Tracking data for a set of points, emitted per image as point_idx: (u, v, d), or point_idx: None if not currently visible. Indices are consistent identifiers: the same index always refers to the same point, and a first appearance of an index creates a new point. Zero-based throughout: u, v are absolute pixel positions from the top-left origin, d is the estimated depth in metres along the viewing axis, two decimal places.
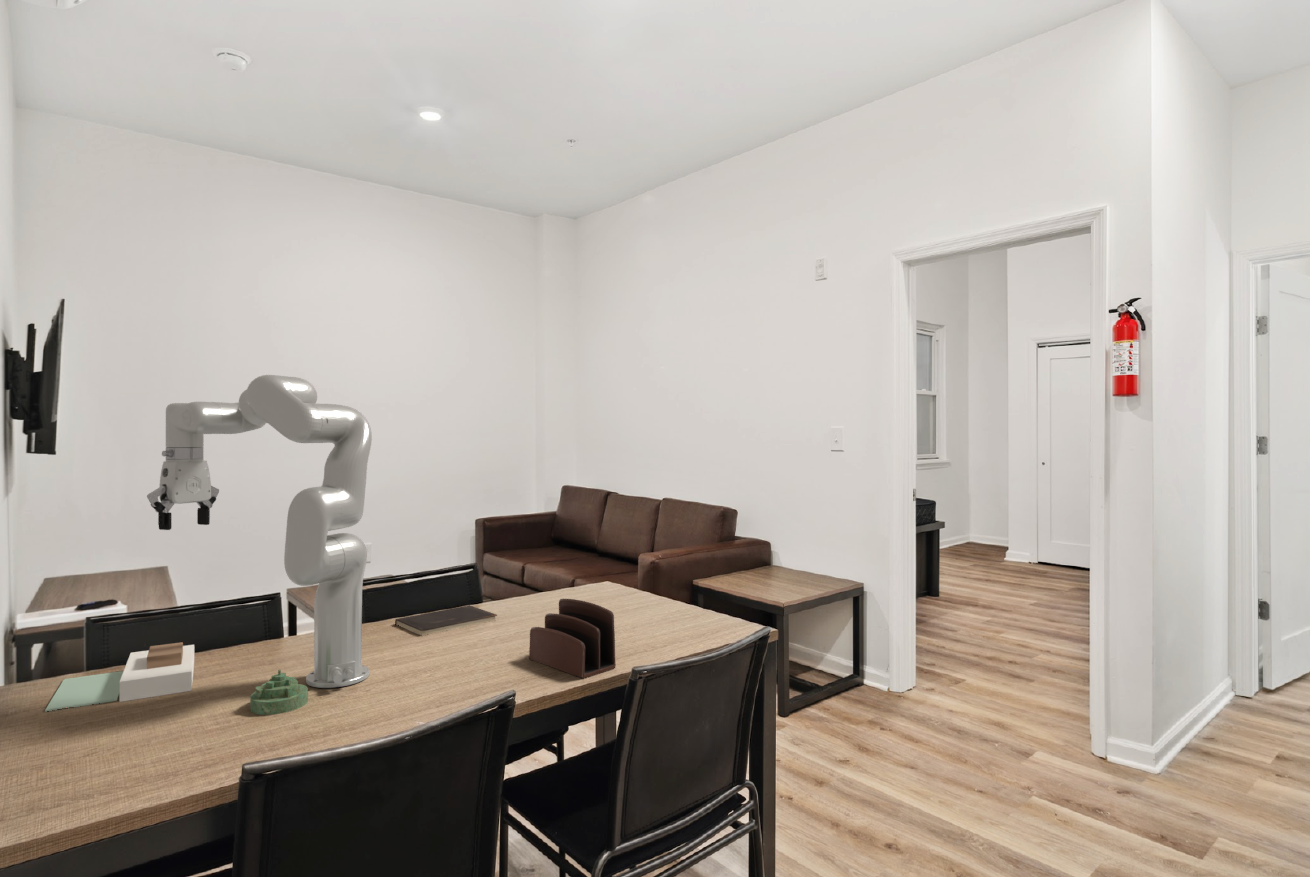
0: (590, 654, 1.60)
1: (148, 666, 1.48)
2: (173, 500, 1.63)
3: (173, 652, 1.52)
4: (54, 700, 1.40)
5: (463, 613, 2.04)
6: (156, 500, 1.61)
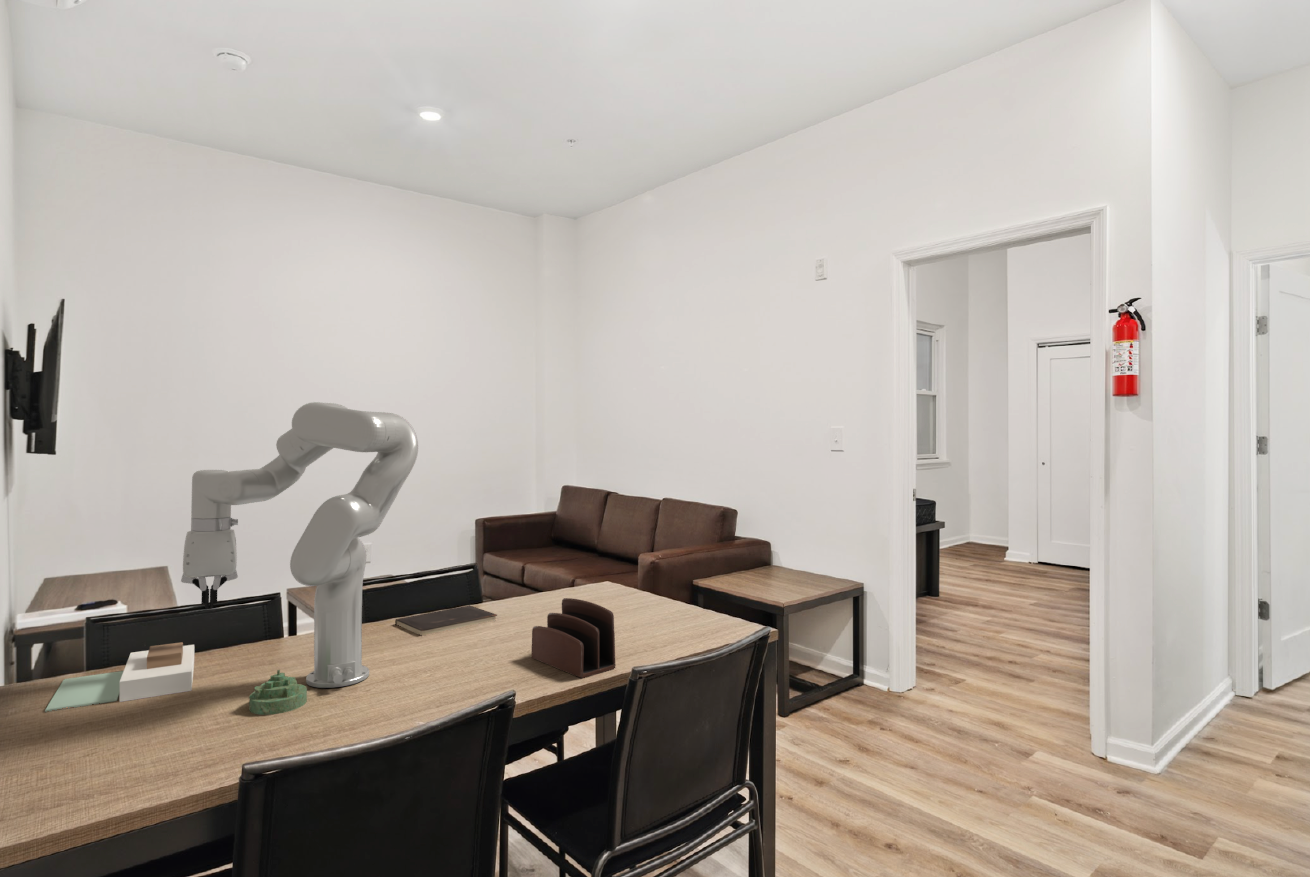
0: (590, 654, 1.60)
1: (148, 666, 1.48)
2: None
3: (173, 652, 1.52)
4: (54, 700, 1.40)
5: (463, 613, 2.04)
6: None
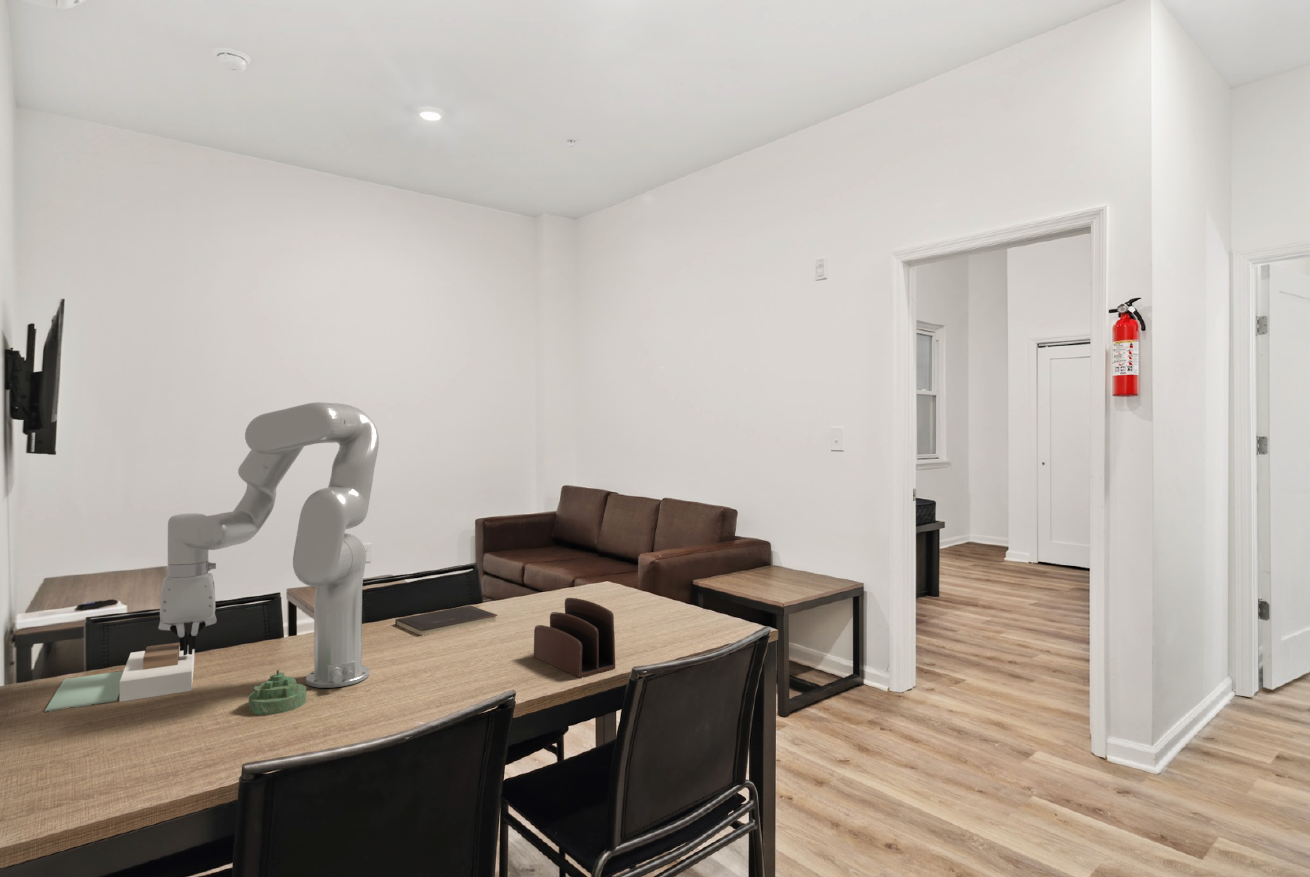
0: (589, 654, 1.61)
1: (144, 666, 1.48)
2: None
3: (169, 652, 1.51)
4: (54, 700, 1.40)
5: (463, 613, 2.04)
6: None
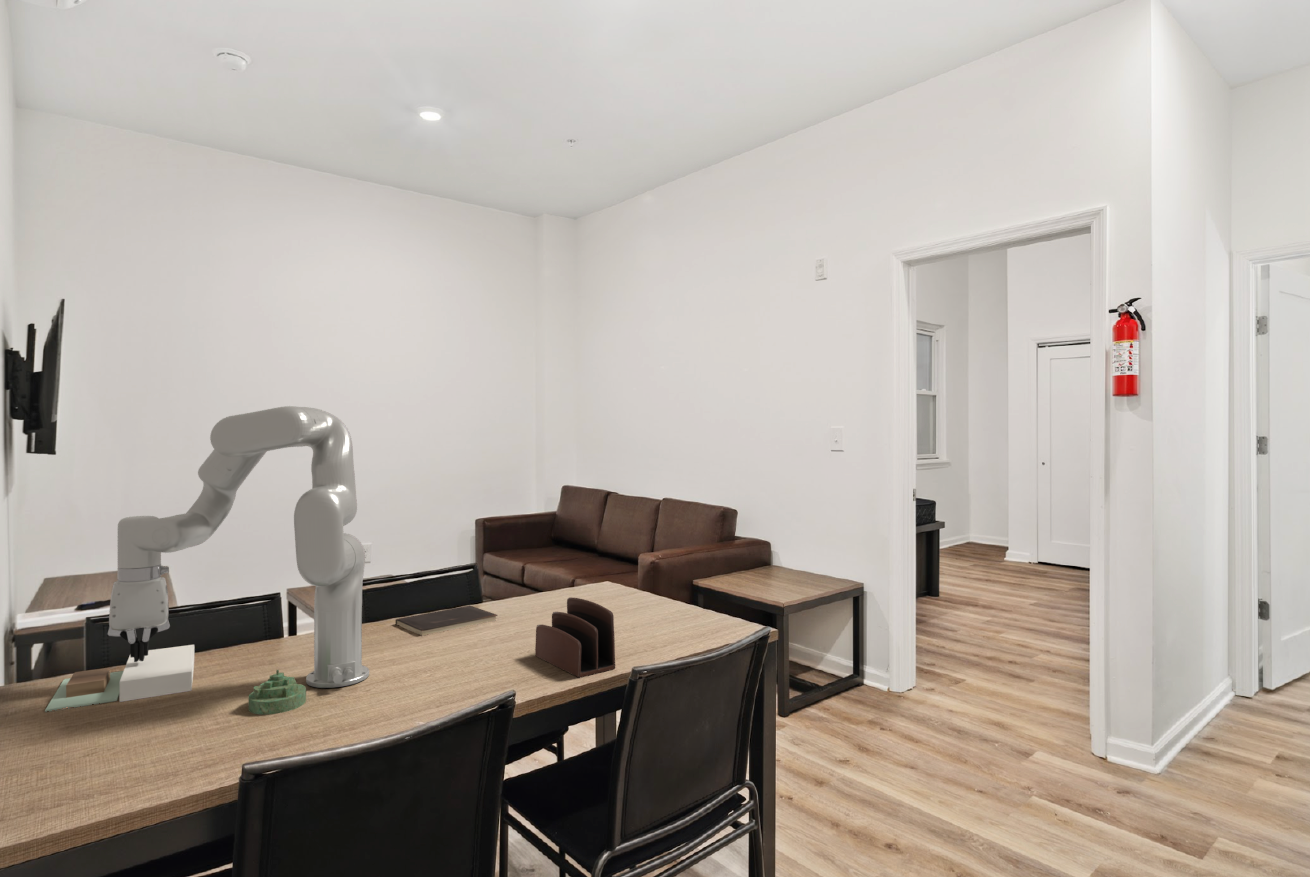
0: (589, 653, 1.61)
1: (102, 683, 1.45)
2: None
3: None
4: (54, 700, 1.40)
5: (463, 613, 2.04)
6: None
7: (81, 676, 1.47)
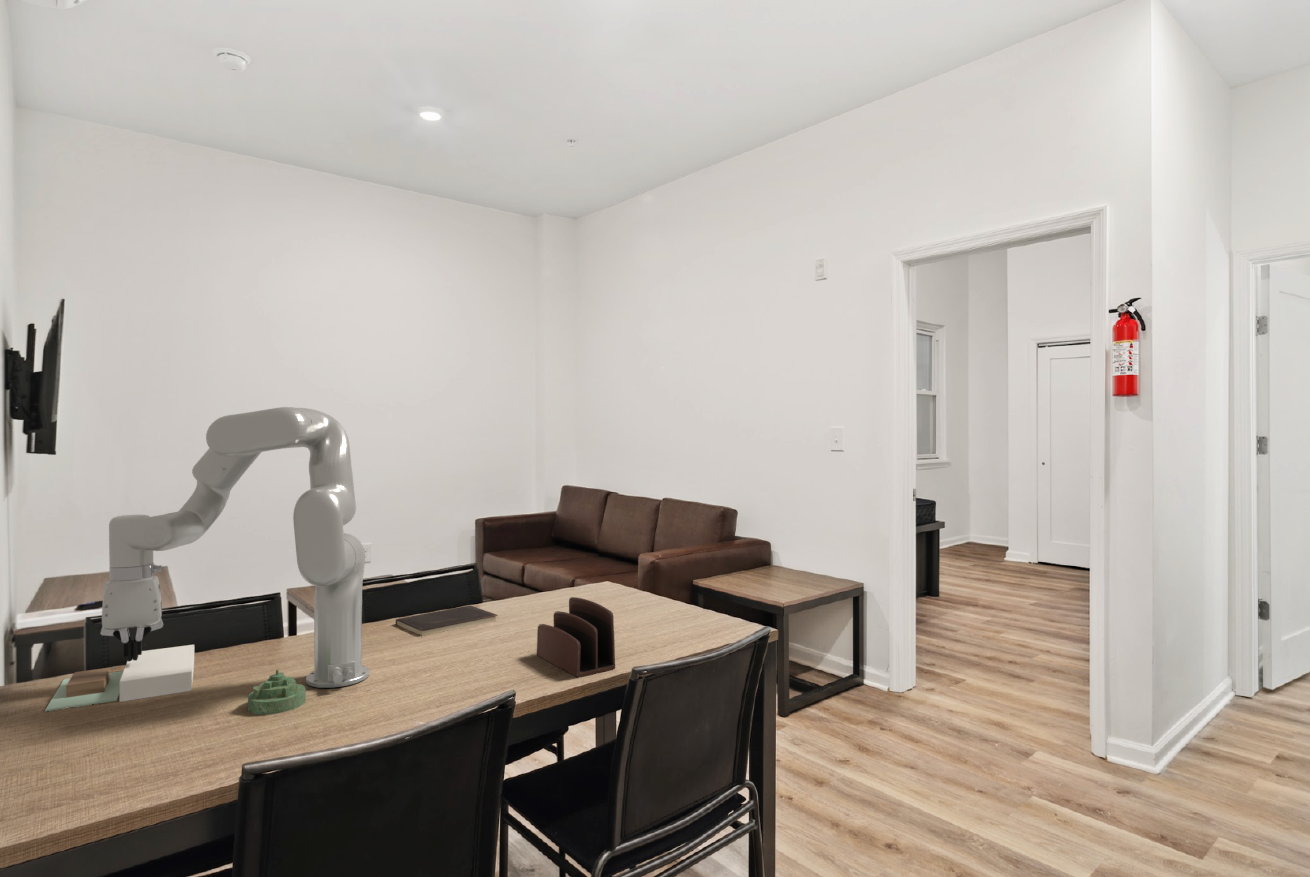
0: (589, 653, 1.61)
1: (102, 683, 1.45)
2: None
3: None
4: (54, 700, 1.40)
5: (463, 613, 2.04)
6: None
7: (81, 676, 1.47)
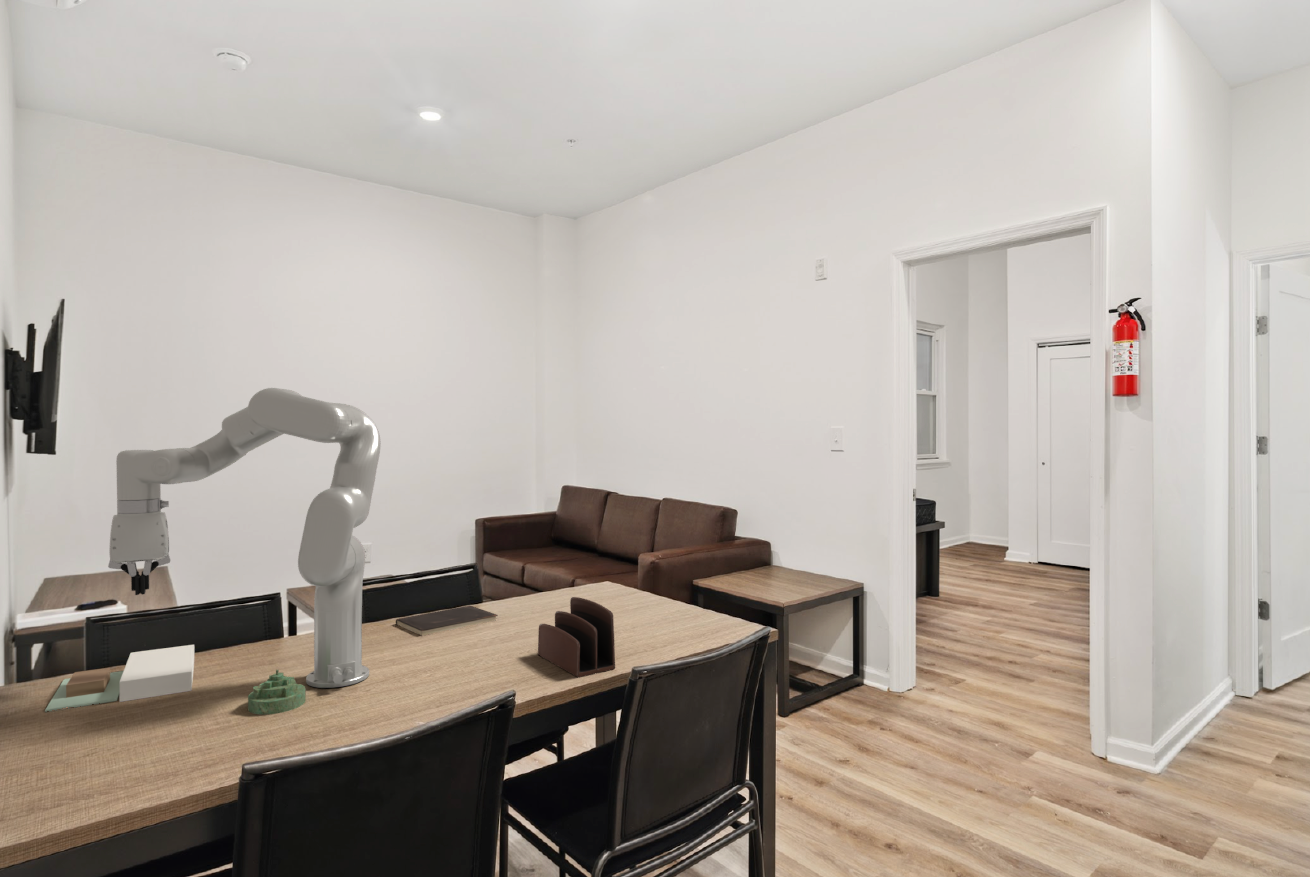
0: (589, 653, 1.61)
1: (102, 683, 1.45)
2: None
3: None
4: (54, 700, 1.40)
5: (464, 613, 2.04)
6: None
7: (81, 676, 1.47)
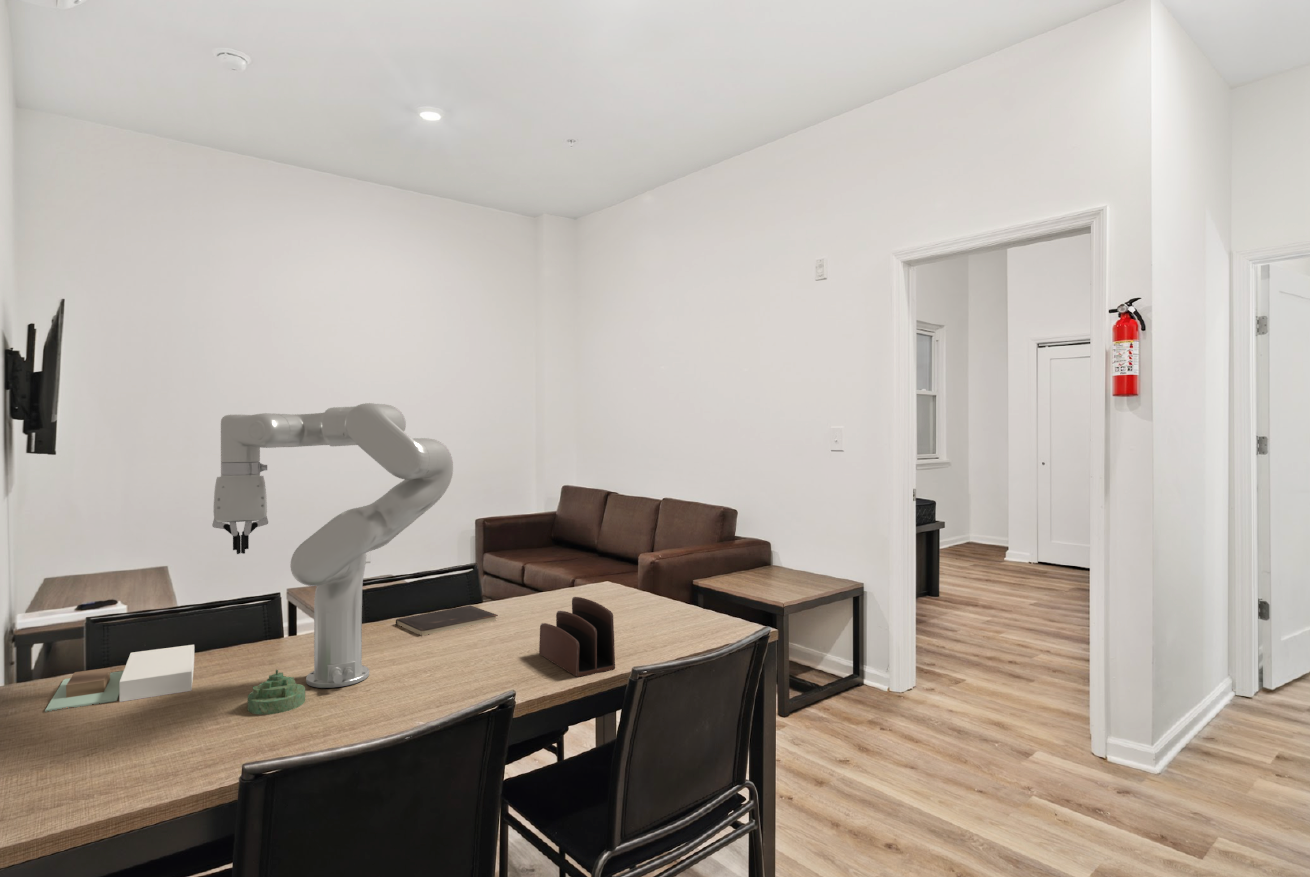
0: (589, 653, 1.61)
1: (102, 683, 1.45)
2: None
3: None
4: (54, 700, 1.40)
5: (464, 613, 2.04)
6: None
7: (81, 676, 1.47)
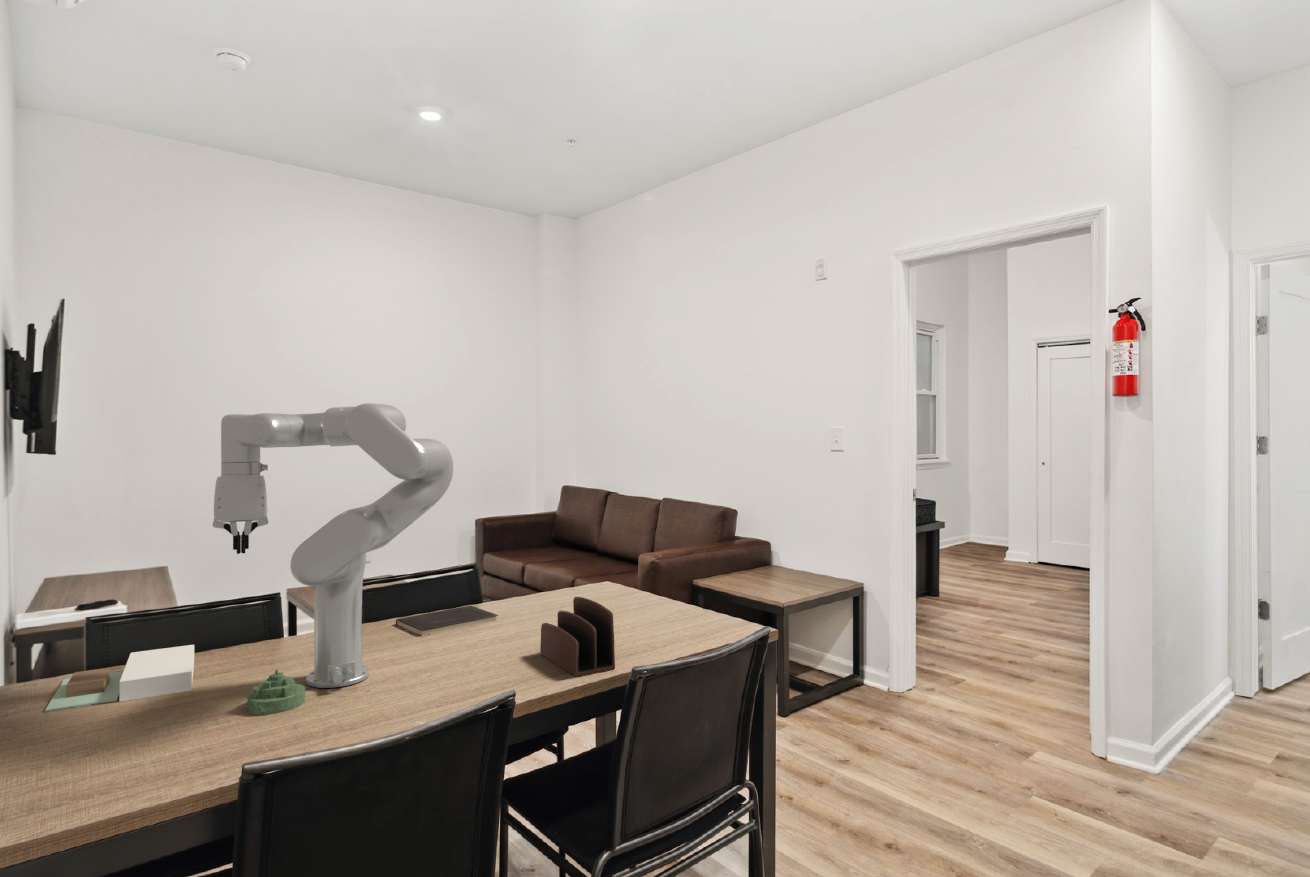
0: (589, 653, 1.61)
1: (102, 683, 1.45)
2: None
3: None
4: (54, 700, 1.40)
5: (464, 613, 2.04)
6: None
7: (81, 676, 1.47)
